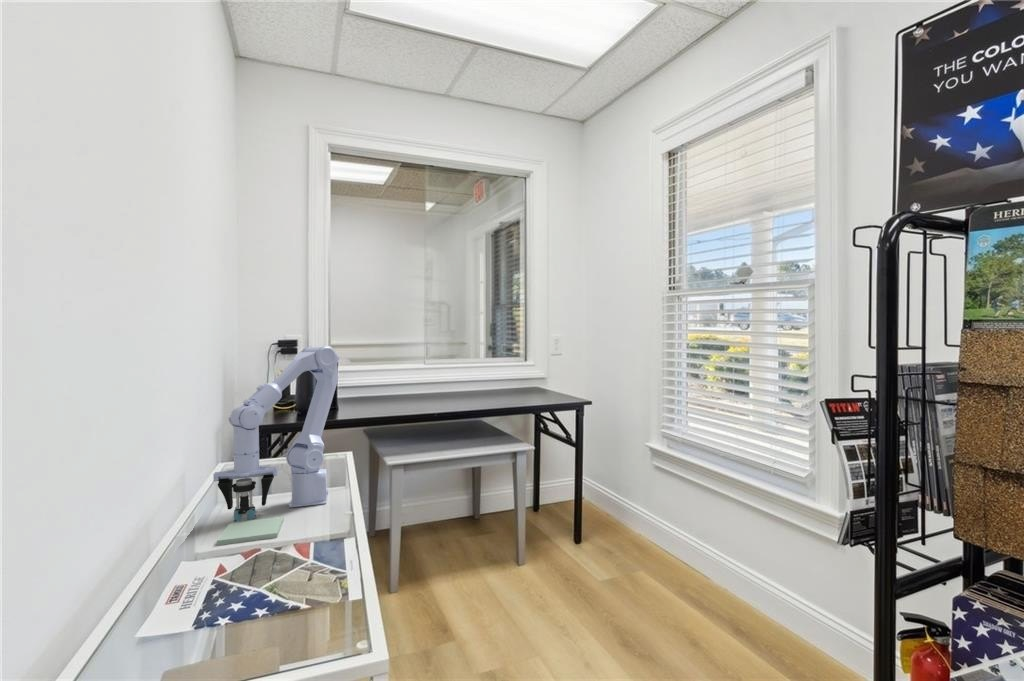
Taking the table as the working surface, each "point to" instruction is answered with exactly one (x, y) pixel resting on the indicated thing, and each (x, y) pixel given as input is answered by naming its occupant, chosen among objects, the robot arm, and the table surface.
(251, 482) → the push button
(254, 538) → the sage board
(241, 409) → the robot arm
